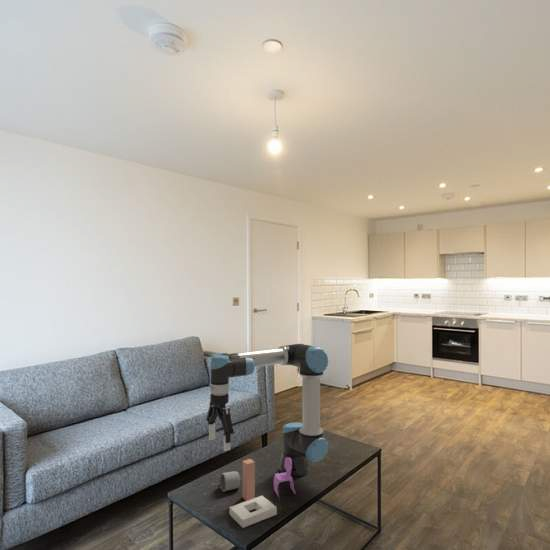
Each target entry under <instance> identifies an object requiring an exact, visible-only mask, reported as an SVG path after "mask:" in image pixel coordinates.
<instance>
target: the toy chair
mask: <svg viewBox="0 0 550 550" xmlns="http://www.w3.org/2000/svg"><path fill="white" fill-rule="evenodd" d="M284 467H285V469H286V472H284V473H281V472H280V473H279V472H277V473H274V476H273V490H274V492H275V494H276V496H277V498H280V496H279V492H278V487H279V484H280V483H283V482H289V486H290V487H289V488H290V489H291V491H292V492H293V493H294V494H295V495H297V493H296V490H295V487H294V486H295V485H294V480H293V476H290V475H291V470H292V460H291V458H289V457H287V458H285V464H284Z"/></svg>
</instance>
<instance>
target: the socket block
mask: <svg viewBox="0 0 550 550" xmlns="http://www.w3.org/2000/svg"><path fill="white" fill-rule="evenodd" d="M277 508H278V507H277V506H276V505H274V504H273V502H271V501H270V500H269V499H267V498H266V497H264V495H259V496H257V497H256V496H255V498H254V499H251V500H248V501H246V500H244V501H242V502H240V503H237V504H234V505H231V506H229V512H228V513H229V516H230V517H231V518H232V519H233V520H234V521H235V522H237V524H238V525H239V526H240V527H241V528H242V529H243V528H247V527H249V526H251V525H253V524H256V523H259V522H261V521H263V520H267V519H269V518H271V517H274V516H276V515H277V514H278V513H277V512H278V511H277V510H278V509H277ZM253 510H255V511H253ZM250 511H252V512H250Z"/></svg>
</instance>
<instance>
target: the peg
mask: <svg viewBox="0 0 550 550" xmlns="http://www.w3.org/2000/svg"><path fill="white" fill-rule="evenodd" d="M241 475H242V477H241V483H242V485H241V487H242V488H241V489H242V493H241V494H242V497H241V498H243V499H244V501H248V500H251V499H254V498H256V494H255V492H256V461H254V460H253V459H251V458H248V459H245V460H242V474H241Z"/></svg>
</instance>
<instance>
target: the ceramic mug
mask: <svg viewBox="0 0 550 550" xmlns="http://www.w3.org/2000/svg"><path fill="white" fill-rule="evenodd" d="M241 483H242V477H241V475H240V473H239V472H238V471H234V470H233V471H228V472H227V471H226V472H222V473H221V474H220V475H219V485H220V489H221V491H222V492H223V493H225V492H227V491H232V490H235V489H236V490H237V489H238V488H239V487H241Z"/></svg>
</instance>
